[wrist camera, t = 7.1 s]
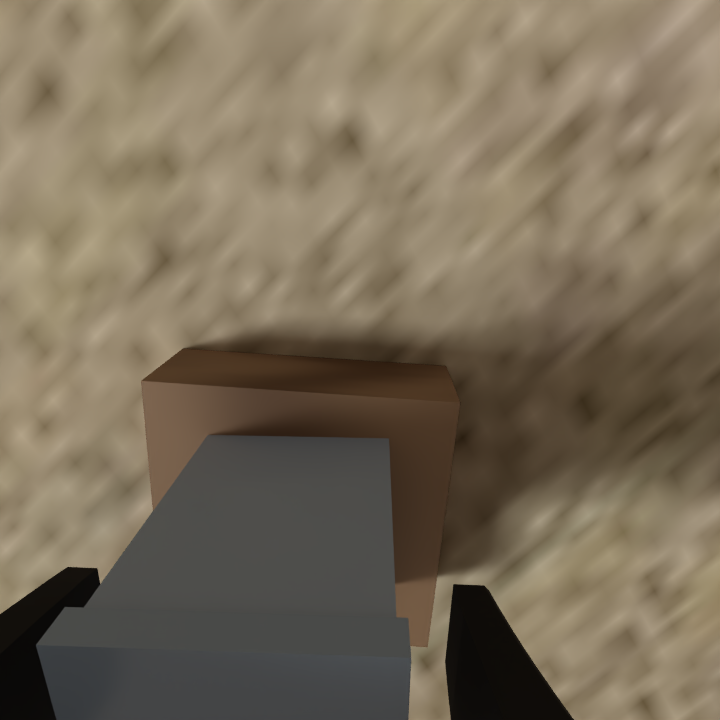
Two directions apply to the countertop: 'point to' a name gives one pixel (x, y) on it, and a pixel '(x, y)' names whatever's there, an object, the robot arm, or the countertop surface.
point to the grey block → (247, 595)
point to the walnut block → (321, 435)
